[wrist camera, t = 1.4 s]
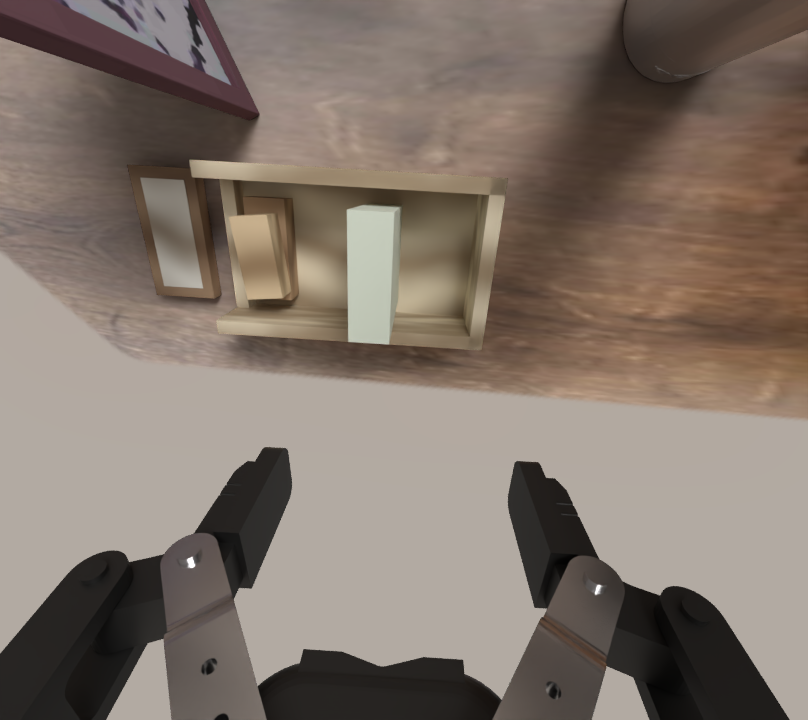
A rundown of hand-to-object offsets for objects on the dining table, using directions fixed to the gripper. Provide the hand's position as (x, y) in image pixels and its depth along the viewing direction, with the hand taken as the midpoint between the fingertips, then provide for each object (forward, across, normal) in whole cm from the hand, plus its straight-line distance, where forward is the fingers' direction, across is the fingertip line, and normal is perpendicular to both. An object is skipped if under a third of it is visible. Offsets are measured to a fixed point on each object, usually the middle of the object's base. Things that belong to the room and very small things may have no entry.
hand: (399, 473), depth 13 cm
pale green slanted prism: (+27, +3, -3) cm, 27 cm away
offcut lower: (+27, +13, -3) cm, 30 cm away
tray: (+28, +6, -3) cm, 29 cm away
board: (+28, +23, -4) cm, 37 cm away
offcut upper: (+24, +14, -3) cm, 28 cm away
